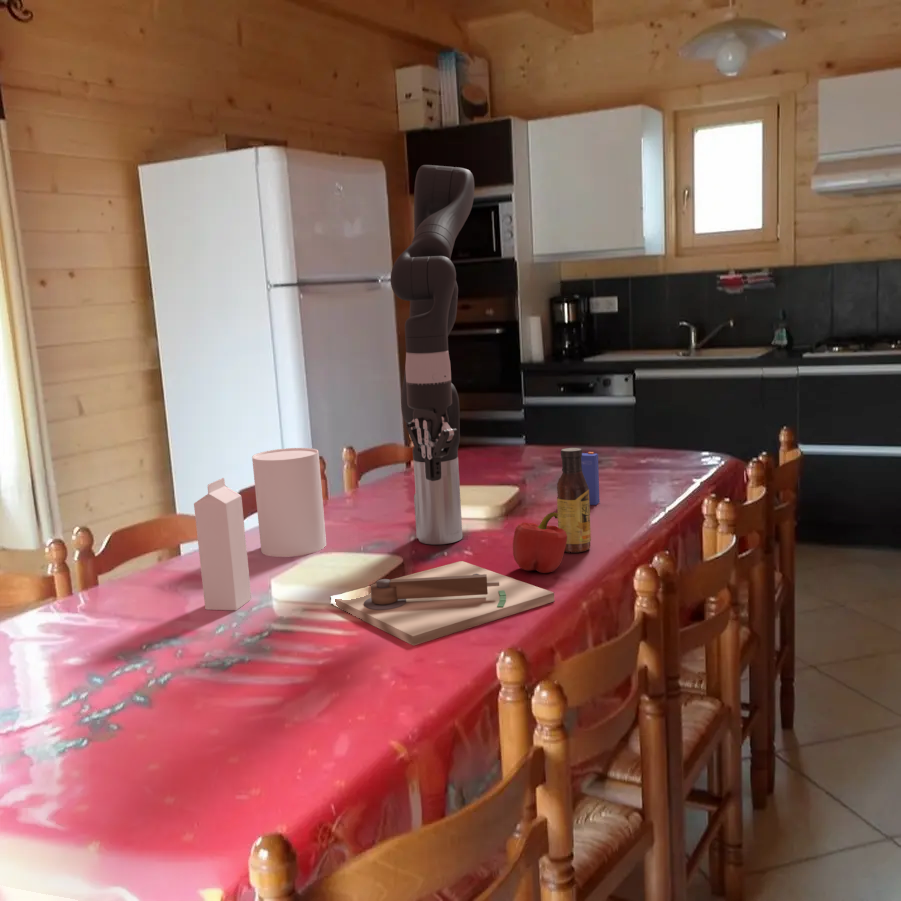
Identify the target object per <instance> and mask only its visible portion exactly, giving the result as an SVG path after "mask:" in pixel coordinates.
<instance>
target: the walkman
mask: <svg viewBox="0 0 901 901" xmlns="http://www.w3.org/2000/svg"><path fill="white" fill-rule="evenodd" d="M581 465H582V472H583V475H584V478H585V480H586V483H587V485H588V488H589V503H590V506H597V505H598V504H599V503H600V502H601V501H600V500H601V499H600V474H599V473H600V472H599V471H600V470H599V453H595V452H594V451H588V452H586V453H585V452H582V457H581Z"/></svg>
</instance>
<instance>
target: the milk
mask: <svg viewBox="0 0 901 901" xmlns="http://www.w3.org/2000/svg"><path fill="white" fill-rule="evenodd" d="M225 482H226V481H225V478H224V477H222V478H220V479H218V480H216V481H213V482H211V483H209V484H207V494H206V495H204V496H203V497H201V498H199V499H198V500H197V501H195V502H194V503H193V508H194V515H195V516H194V517H195V518H194V519H195V527H196V534H197V535H196V536H197V545H198V554H199V563H200V564H199V565H200V573H201V574H200V575H201V580H202V592H203V600H204V608H205V610H207V611H208V610H209V611H210V610H211V611H212V610H213V611H238V610H239V609H241V607H243V606H244V605H246V604H247V603H249V601H251V600H252V592H251V591H252V589H251V581H250V580H251V579H250V571H249V558H248V550H247V541H246V531H245V530H246V529H245V519H244V511H243V510H244V509H243V498H242V495H241V494H239V493H238V492H236V491H234V490H233V489H231V488H230V487H228V486H226V483H225Z"/></svg>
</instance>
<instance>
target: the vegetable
mask: <svg viewBox="0 0 901 901" xmlns="http://www.w3.org/2000/svg"><path fill="white" fill-rule="evenodd" d="M552 518H554V519H557V520H558V512H554V511H553V512H549V513H548V514H546V515H545V516H544V517H543V519H542V520H541V521H540V524H537V523H534V522H521V523H519V524H517V525H516V527H515V529H514V534H513V540H512V555H513V559H514V561H515V563H516V565H518V567H519V568H521V569H522V570H524V571H537V572H539V573H540V574H549V573H552V572H555V570H557V569H558V568H559V567H560V565H561V563H562V561H563V559H564V554H565V552H564V551H565V546H566V542H567V534H566V532H565V531H564V530H563V529H562V528H558V526H557V525H548V523H549V522H550V520H551V519H552Z"/></svg>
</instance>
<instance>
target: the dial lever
mask: <svg viewBox="0 0 901 901" xmlns="http://www.w3.org/2000/svg"><path fill="white" fill-rule="evenodd" d="M393 579H394V580H391V579H390V578H389V579H388V578H383V579H382V578H381V579H378V580H376V582H375V583H373V584H370V585H371V600H372V602H373V603H375V604H390V603H394V602H396V601H397V600H398V599H414V598H432V597H450V596H468V595H486V594H488V592H487V587H490V586H499V581H496V582H487V575H486V574H483V575H465V576H447V577H429V578H411V579H395V578H393Z"/></svg>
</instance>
